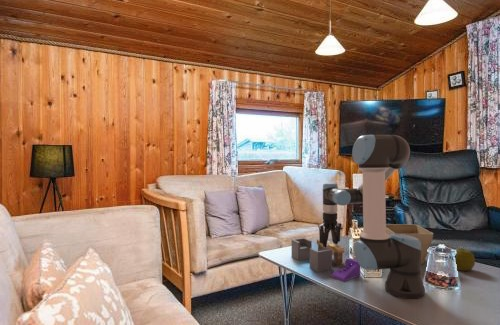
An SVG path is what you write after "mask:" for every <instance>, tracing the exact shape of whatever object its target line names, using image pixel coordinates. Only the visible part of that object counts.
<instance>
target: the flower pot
mask: <svg viewBox="0 0 500 325" xmlns="http://www.w3.org/2000/svg"><path fill="white" fill-rule="evenodd" d="M386 233H387V234H388V235H389V236H390V235H391V234H393V233H396V234H404V235H409V236H412V237H415V238H417V239H419V240H420V242H421V249H422V250H421V265H423V264H425V263H424V262H425V261H426V258H427V257H428V254H429V252H427V249H428V248H429V247H430V248H431V246H432V241H433V238H434V232H432V231H429V230H428V229H426V228H424V227H422V226H421V225H418V224H410V223H409V224H405V223H403V224H402V223H401V224H396V223H395V224H394V223H393V224H391V223H390V224H387V223H386Z"/></svg>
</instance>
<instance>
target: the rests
mask: <svg viewBox="0 0 500 325" xmlns="http://www.w3.org/2000/svg"><path fill="white" fill-rule="evenodd" d="M317 251H322V246H320V245H318V244H317ZM343 255H344V254H343V253H338V254H337V253H335V252H334V256H333V263H334V264H335V265H337V266H340V265H343V259H344V258H343Z"/></svg>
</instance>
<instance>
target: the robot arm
mask: <svg viewBox="0 0 500 325" xmlns="http://www.w3.org/2000/svg"><path fill="white" fill-rule="evenodd" d="M351 152H352V153H351V154H352V159H353V162H354V163H355V164H356V165H358V170H360V172H361V174H362V183H361V184H360V185H359V186H358V187H357V188H354V187H353V188H339V186H338V183H337V182H324V183H323V184H322V220H323V221H322V223H321V224H318V229H319V231H318V233H319V234H318V236H319V238H318V239H320V243H321V244H323V246H324V247H327V248H328V245H327V241H329V235H330V234H331V240H332V241H331V242H332V243H334V244H336V245H338V244H339V242H341V228H342V223H341V222H339V221H338V206H344V207H345V206H347V205H351V204H353V205H354V204H362V217H363V219H362V221H363V222H362V224H363V225H362V226H363V228H362V232H360V233H359V240H356V241H355V242H354V244H353V253H354V257H355V260H357V262H358V264H359V265H360V268H361V269H363V270H366V271H377V270H387V269H389V271H388V274H387V276H386V280H385V281H384V290H385V291H386V292H387V293H389V294H390V295H393V296H394V297H398V298H402V299H408V300H418V299H422V298H423V297H425V295H426V288H425V286H424V283H423V279H422V275H421V265H422V264H421V250H422V249H421V242H420V240H419V239H417V238H415V237H412V236H409V235H404V234H396V233H393V234H391V235H390V236H389V235H388V234H387V233H386V224H387V220H386V214H387V212H386V210H387V209H386V204H387V201H386V182H387V181H388V179H390V178H391V177H392V176H393V174H394V173H395V172H396V171H397V170H400V169H402V168H403V167H404V166H405V165H406V164H407V163H408V161H409V158H410V156H411V148H410V145H409V143H408V142H407V140H406V139H405V138H403V137H402V136H400V135H397V134H362V135H360V136H359V137H358V138H356V141H355V142H354V144H353V146H352V151H351ZM332 257H334V252H333V251H332Z"/></svg>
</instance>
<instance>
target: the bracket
mask: <svg viewBox="0 0 500 325" xmlns="http://www.w3.org/2000/svg"><path fill="white" fill-rule="evenodd" d="M344 262H345V263H344V264H345V265H344V267H342V268H340V269H337V270H334V271H333V272H332V273H331V277H332V278H334V279H336V280H338V281H339V280H340V281H341V282H346V281H348V280H351V279H353V278H357V277H359V276H361V266H360V265H359V264H358V262H357V260H356V259H353V258H346V259H345V261H344Z"/></svg>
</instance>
